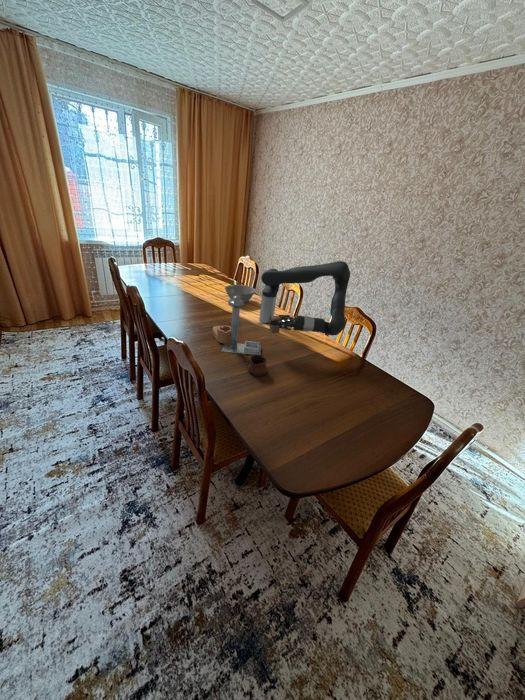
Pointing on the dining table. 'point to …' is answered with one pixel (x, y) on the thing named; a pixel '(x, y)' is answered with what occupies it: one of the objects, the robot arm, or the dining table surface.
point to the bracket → (222, 333)
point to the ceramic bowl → (240, 292)
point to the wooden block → (273, 327)
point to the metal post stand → (233, 346)
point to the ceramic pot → (257, 366)
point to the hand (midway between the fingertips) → (270, 320)
